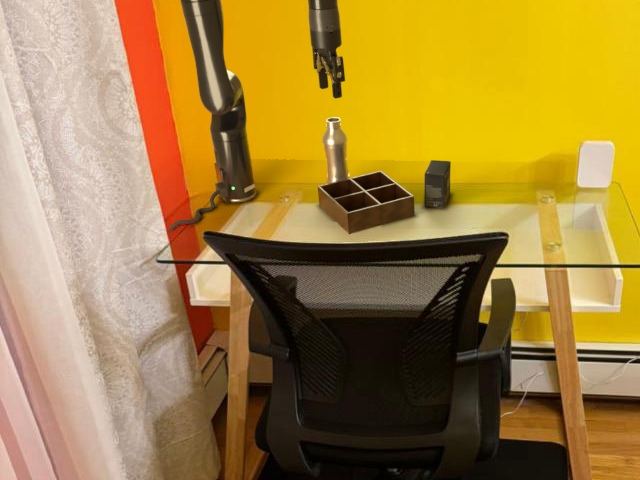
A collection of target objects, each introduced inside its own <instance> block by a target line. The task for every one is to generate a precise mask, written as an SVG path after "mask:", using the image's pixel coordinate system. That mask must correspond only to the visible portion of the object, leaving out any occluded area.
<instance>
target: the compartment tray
mask: <svg viewBox="0 0 640 480" xmlns="http://www.w3.org/2000/svg"><path fill="white" fill-rule="evenodd" d="M317 195H318V205H319V207H320V208H321V209H322V210H324V212H325V213H327V214H328V215H329V216H330V218H332V219H333V220H334V221H335V222H336V223H337V224H338V225H339V226H340V227H341V228H342V229H343V230H344V231H345V232H346V233H347V234H349V235H350V234H353V233H357V232H361V231H365V230H368V229H372V228H376V227H379V226H383V225H386V224H390V223H393V222H394V223H395V222H398V221H401V220H405V219H409V218H412V217H415V216H416V215H415V214H416V213H415V196H414V194H412V193H410V191H408V190H407V189H405V188H404V187H403V186H402V185H400V183H398V182H397V181H396V180H394V179H393V178H392V177H390V176H389V175H388V174H386V173H385V172H384V171H382V170H377V171H374V172H370V173H365V174H362V175H356V176H354V177H350V178H349V179H345V180H341V181H336V182H332V183H328V184H327V183H325V184H320V185H317Z"/></svg>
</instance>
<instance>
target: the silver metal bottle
mask: <svg viewBox="0 0 640 480" xmlns="http://www.w3.org/2000/svg"><path fill="white" fill-rule="evenodd" d="M325 120H326V121H325V127H326V130H325V132H324V133H323V135H322V140H321V141H322V145H323V149H324V153H325V159H326V174H327V175H326V184H328V183H332V182H336V181H341V180H345V179H349V178H351V175H350V172H349V166H348V159H347V158H348V154H347V153H348V138H347V135H346V133H345V132H344V131H343V129H342V123H341V118H340V117H335V116H334V117H333V116H332V117H328V118H326V119H325Z"/></svg>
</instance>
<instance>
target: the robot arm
mask: <svg viewBox="0 0 640 480" xmlns="http://www.w3.org/2000/svg"><path fill="white" fill-rule="evenodd" d="M179 1H180V6H181V9H182V14H183V18H184V22H185V26H186V31H187V34H188V38H189V42H190V46H191V50H192V53H193V57H194V63H195V70H196V77H197V87H198V93H199V97H200V101H201V103H202V106H203V107H204V109H206V111H208V112H209V113H211V115H210V117H211V118H210V126H209V130H210V131H209V132H210V137H211V143H212V147H213V152H214V158H215V163H214V169H215V176H216V180H217V182H216V183H214V187H215V191H213V193H212V194H211V196H210V198H209V203H210V206H209V207H201V208H198V209H196V211H195V215H196V218H190V219H189V218H188V219H180V220H177V221H175V222H174V223H173V224H171V226H170V227H169V230H168V231H169V232H173V231H174V230H175V228H176V227H178V226H180V225H185V224H195V223H198V222H200V221H201V220H202V215H201V213H204V212H205V213H206V212H211V211H213V210H214V209H215V208H216V203H215V198H216V197H217V196H219V197H220V198H221V199H222V200H223V201H224V202H225V204H227V205H228V204H241V203H246V202H249V201H252V200H254V199H255V198H256V197H257V195H258V194H257V188H256V184H255V183H256V182H255V177H254V176H255V175H254V170H253V165H252V157H251V151H250V144H249V137H248V131H247V122H248V121H247V118H248V117H247V108H246V101H245V100H246V99H245V93H244V88H243V85H242V82H241V80H240V78H239V77H238V76H237V74H235V73H234V72H232V71H231V70H228V69H227V65H226V60H225V53H224V52H225V50H224V48H225V46H224V45H225V44H224V43H225V41H224V40H225V19H224V18H225V17H224V10H223V5H222V0H179ZM338 3H339V2H338V0H307V5H308V6H307V7H308V27H309V37H310V45H311V49H312V50H311V51H312V62H313V69H314V70H316V74H317V76H318V85H319V88H320V89H321V90H326V89H328V88H329V80H328V79H329V78H330V81H331V90H332V98H334V99H336V100H337V99H341V98H342V97H343V90H342V83H344V82H346V74H345V64H344V58H343V56H342V55H340V56H339V55H338V54H337V49H338V48H341V46H342V29H341V18H340V10H339V4H338ZM328 77H329V78H328Z"/></svg>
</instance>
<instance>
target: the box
mask: <svg viewBox="0 0 640 480" xmlns="http://www.w3.org/2000/svg"><path fill="white" fill-rule="evenodd" d="M451 167H452V165H451V161H450V160H435V159H433V160H432V159H431V160H430V162H429V164H428V166H427V168H426V170H425V172H424V177H423V179H424V180H423V181H424V183H423V185H424V186H423V187H424V188H423V192H424V194H423V197H424V199H423V203H424V204H423V205H424V207H425V208H436V209H445V207H446V204H447V202H448V199H449V197H450V195H451Z"/></svg>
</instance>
